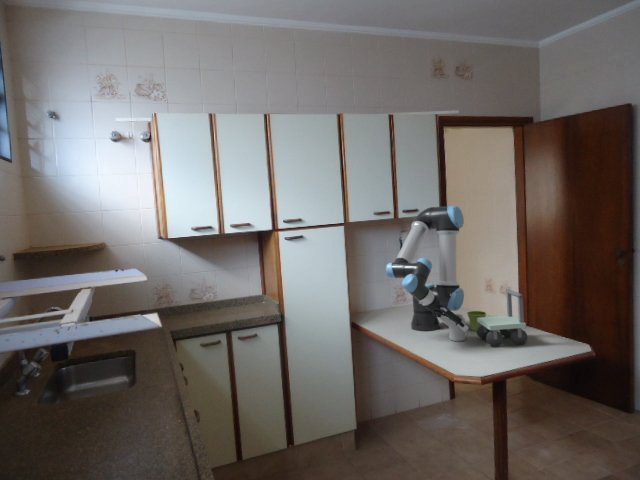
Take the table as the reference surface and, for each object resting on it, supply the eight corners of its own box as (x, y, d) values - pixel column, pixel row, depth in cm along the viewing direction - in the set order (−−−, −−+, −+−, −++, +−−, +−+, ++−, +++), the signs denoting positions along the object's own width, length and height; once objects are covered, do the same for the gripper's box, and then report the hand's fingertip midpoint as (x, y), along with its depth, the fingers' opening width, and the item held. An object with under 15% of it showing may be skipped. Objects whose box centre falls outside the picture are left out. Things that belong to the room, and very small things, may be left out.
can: (466, 338, 222) (465, 313, 221) (464, 342, 215) (463, 317, 215) (450, 337, 225) (449, 313, 225) (448, 341, 219) (446, 316, 218)
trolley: (476, 338, 220) (473, 291, 219) (513, 335, 221) (511, 288, 219) (488, 348, 204) (486, 297, 203) (528, 345, 205) (526, 294, 203)
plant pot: (484, 326, 240) (483, 310, 239) (489, 331, 230) (488, 314, 230) (466, 327, 241) (465, 311, 240) (470, 332, 231) (469, 315, 231)
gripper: (410, 302, 225) (438, 327, 231) (439, 311, 202) (469, 339, 207) (419, 290, 227) (447, 315, 232) (449, 297, 203) (479, 326, 209)
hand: (458, 326), depth 220 cm, fingers open, 13 cm apart
